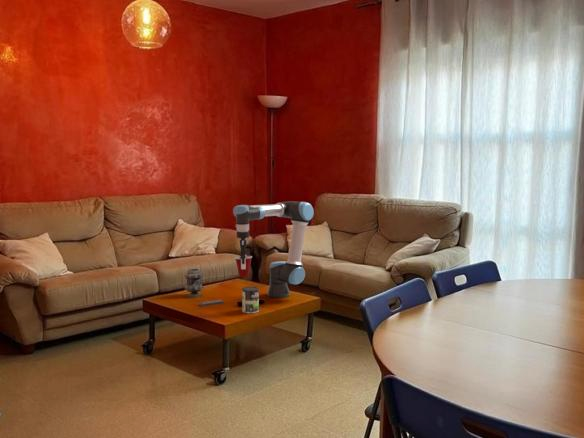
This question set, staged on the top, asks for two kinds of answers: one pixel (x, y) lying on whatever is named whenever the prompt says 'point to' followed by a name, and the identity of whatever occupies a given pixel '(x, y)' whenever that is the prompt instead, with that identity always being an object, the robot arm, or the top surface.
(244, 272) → the plastic cup
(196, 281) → the apothecary jar
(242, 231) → the robot arm
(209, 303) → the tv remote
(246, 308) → the coffee can
